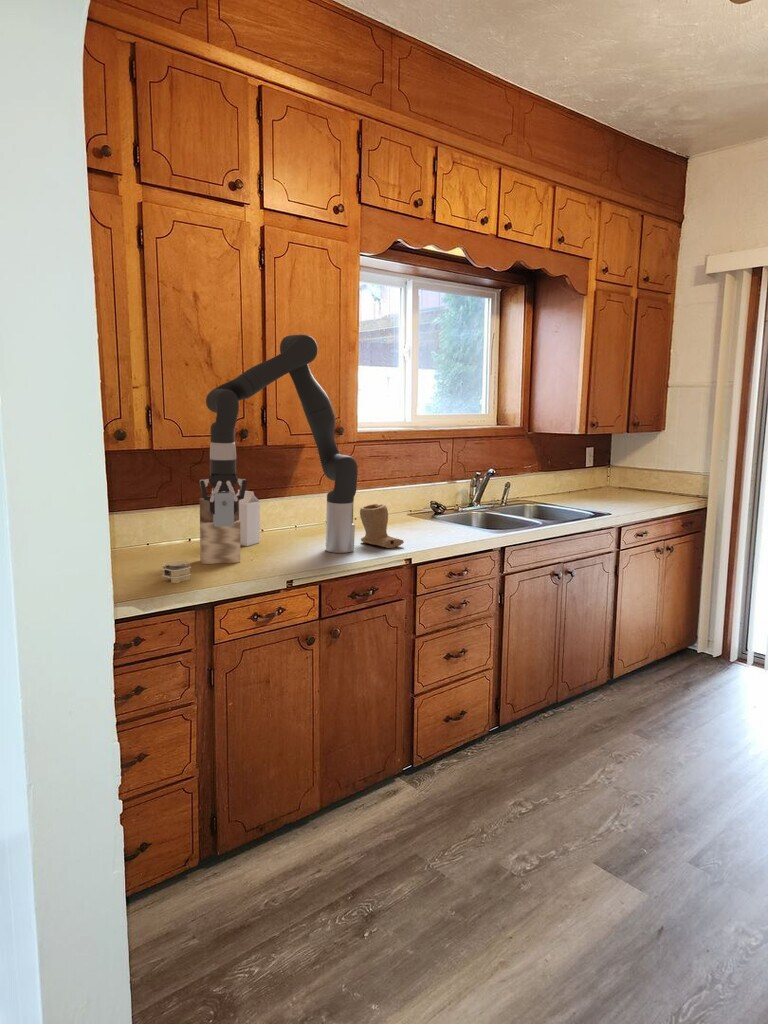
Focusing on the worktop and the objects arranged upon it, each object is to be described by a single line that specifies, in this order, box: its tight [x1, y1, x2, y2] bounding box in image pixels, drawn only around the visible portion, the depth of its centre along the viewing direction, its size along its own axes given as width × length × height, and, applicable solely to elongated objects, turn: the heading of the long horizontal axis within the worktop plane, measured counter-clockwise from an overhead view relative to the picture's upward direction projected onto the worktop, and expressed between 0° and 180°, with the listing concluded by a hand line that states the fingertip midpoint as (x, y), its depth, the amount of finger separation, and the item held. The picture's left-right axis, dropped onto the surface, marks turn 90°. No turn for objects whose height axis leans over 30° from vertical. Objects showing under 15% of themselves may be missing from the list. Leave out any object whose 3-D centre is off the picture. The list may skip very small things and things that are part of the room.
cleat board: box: [199, 497, 241, 565], centre depth 215 cm, size 12×5×20 cm, turn 109°
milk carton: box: [235, 489, 261, 547], centre depth 240 cm, size 7×7×19 cm
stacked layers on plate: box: [161, 559, 192, 584], centre depth 194 cm, size 10×9×6 cm
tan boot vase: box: [359, 503, 404, 549], centre depth 245 cm, size 15×12×15 cm
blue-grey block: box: [211, 488, 234, 527], centre depth 206 cm, size 6×10×10 cm, turn 19°
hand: (223, 513), depth 205 cm, fingers closed on blue-grey block, 5 cm apart
